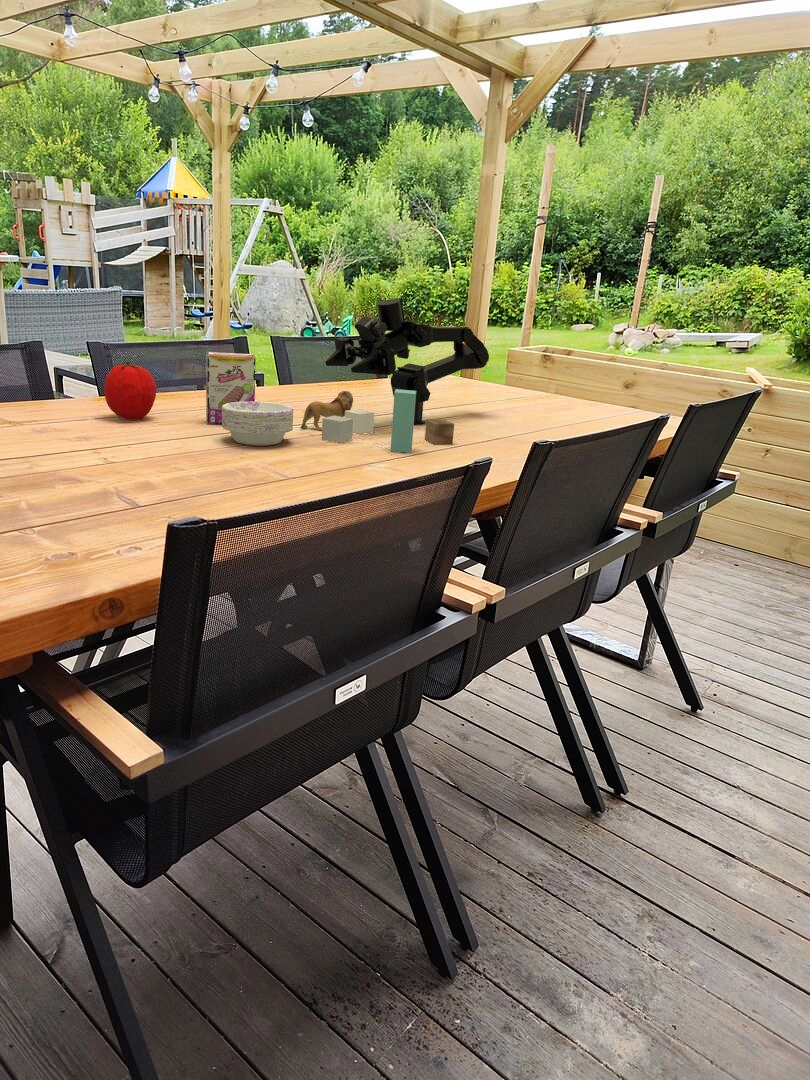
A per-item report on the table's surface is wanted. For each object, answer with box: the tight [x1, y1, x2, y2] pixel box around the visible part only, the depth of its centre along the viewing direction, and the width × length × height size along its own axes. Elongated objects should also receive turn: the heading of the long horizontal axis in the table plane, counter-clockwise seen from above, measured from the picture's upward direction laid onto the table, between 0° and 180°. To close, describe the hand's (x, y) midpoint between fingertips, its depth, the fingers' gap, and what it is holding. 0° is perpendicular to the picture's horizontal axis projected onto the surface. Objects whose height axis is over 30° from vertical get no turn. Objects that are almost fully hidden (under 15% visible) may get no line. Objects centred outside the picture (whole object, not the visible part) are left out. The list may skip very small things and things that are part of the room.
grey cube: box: [321, 416, 353, 444], centre depth 175 cm, size 5×5×5 cm
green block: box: [390, 389, 416, 454], centre depth 168 cm, size 4×4×13 cm
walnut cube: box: [424, 419, 455, 446], centre depth 181 cm, size 5×5×5 cm
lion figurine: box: [299, 390, 354, 432], centre depth 186 cm, size 15×5×9 cm, turn 130°
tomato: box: [103, 361, 158, 421], centre depth 179 cm, size 12×12×13 cm
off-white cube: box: [344, 408, 375, 435], centre depth 185 cm, size 5×5×5 cm
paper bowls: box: [221, 401, 294, 447], centre depth 167 cm, size 15×15×8 cm
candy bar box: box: [205, 351, 256, 425], centre depth 182 cm, size 11×5×16 cm, turn 108°
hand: (338, 366), depth 180 cm, fingers open, 9 cm apart
